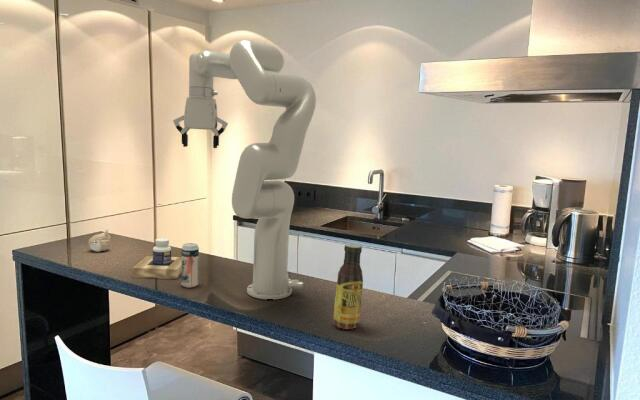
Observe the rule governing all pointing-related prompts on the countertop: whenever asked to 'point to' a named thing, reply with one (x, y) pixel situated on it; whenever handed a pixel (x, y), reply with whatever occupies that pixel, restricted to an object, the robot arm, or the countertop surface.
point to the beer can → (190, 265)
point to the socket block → (157, 269)
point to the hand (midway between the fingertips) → (200, 147)
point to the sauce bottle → (349, 289)
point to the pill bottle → (162, 252)
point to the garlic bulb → (100, 242)
